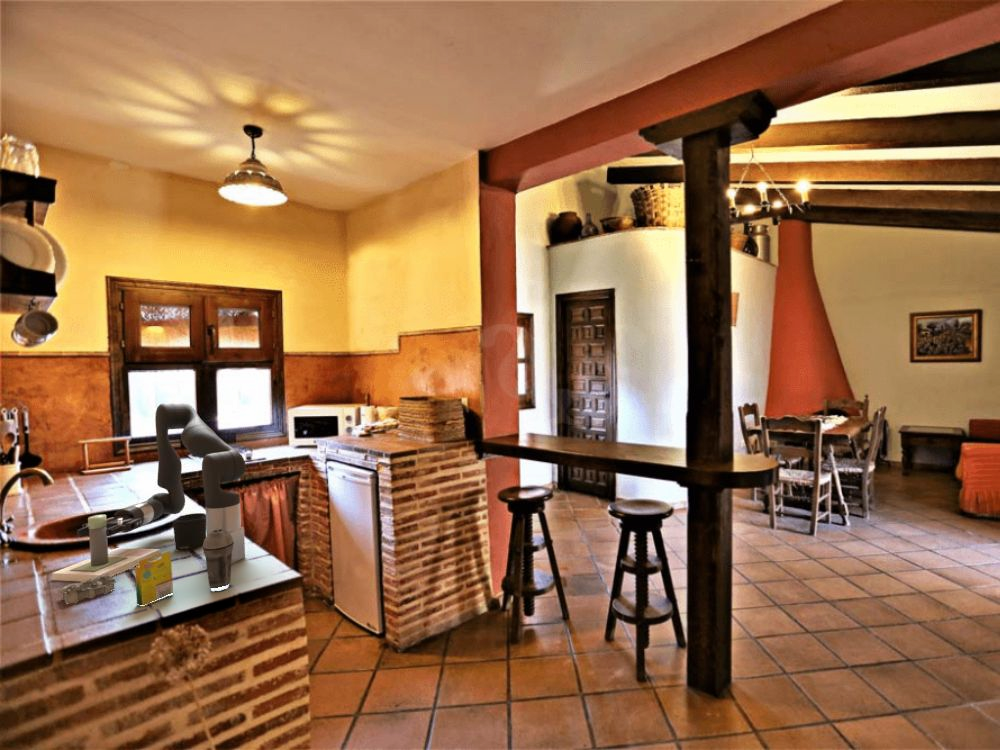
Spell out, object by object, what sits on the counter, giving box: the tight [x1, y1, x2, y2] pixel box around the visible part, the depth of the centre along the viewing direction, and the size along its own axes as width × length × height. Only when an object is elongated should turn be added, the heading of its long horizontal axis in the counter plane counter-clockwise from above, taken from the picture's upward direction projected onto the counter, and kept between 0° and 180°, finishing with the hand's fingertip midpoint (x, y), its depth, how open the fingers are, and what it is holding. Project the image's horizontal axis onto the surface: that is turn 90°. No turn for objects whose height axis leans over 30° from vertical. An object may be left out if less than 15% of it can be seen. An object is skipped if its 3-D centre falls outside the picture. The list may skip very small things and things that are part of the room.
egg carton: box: [60, 573, 117, 604], centre depth 131 cm, size 11×8×4 cm
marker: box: [87, 514, 109, 566], centre depth 147 cm, size 4×4×14 cm
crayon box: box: [134, 551, 174, 605], centre depth 126 cm, size 7×3×12 cm, turn 150°
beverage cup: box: [202, 512, 234, 589], centre depth 132 cm, size 7×7×20 cm
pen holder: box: [172, 512, 207, 552], centre depth 166 cm, size 9×9×10 cm
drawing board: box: [51, 547, 161, 582], centre depth 150 cm, size 16×20×2 cm
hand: (92, 533), depth 145 cm, fingers open, 8 cm apart
